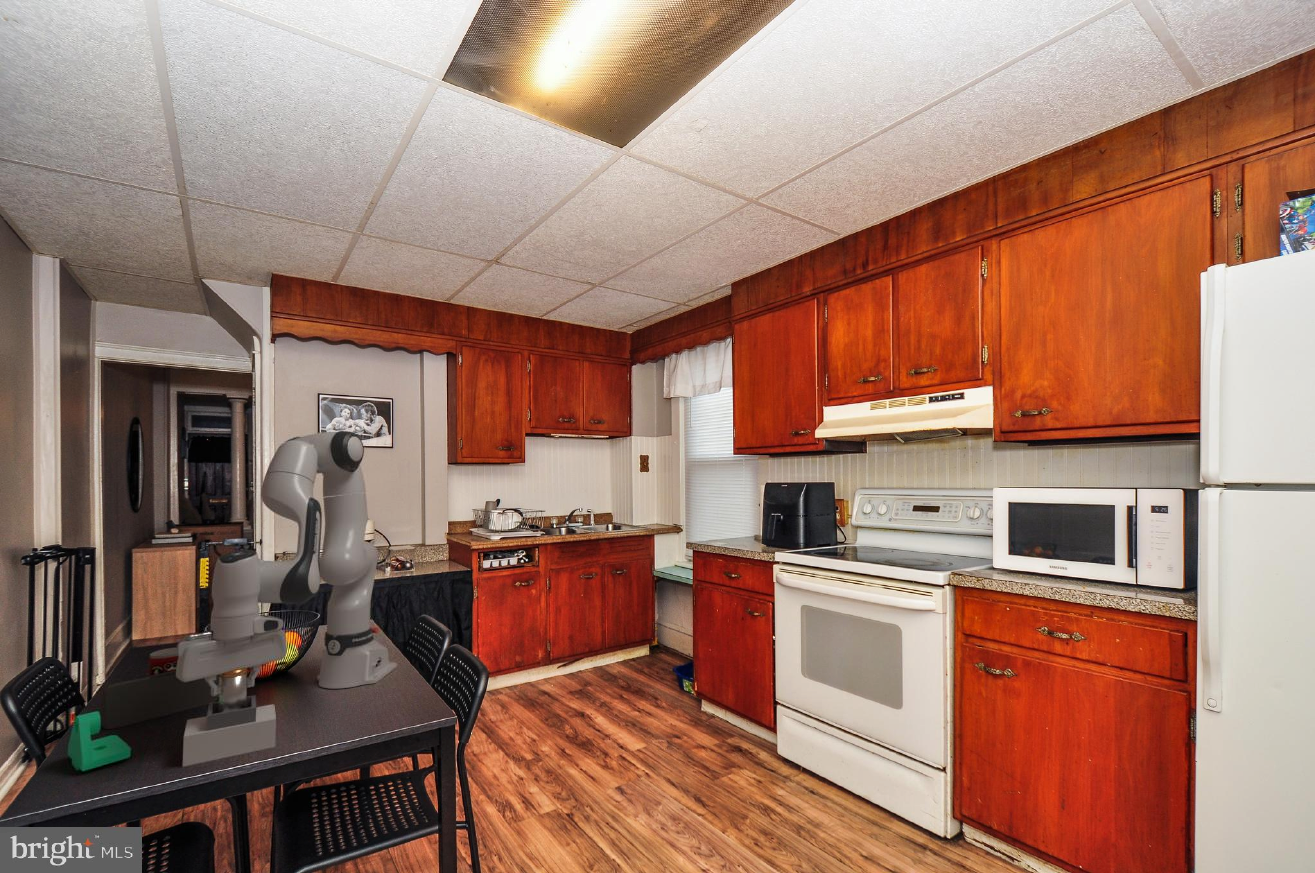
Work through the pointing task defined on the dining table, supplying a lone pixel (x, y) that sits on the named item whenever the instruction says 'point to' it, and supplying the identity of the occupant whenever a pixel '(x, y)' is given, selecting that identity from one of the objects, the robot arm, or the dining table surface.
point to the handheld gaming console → (152, 698)
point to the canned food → (163, 661)
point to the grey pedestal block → (229, 732)
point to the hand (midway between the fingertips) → (233, 690)
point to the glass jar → (233, 690)
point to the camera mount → (94, 744)
